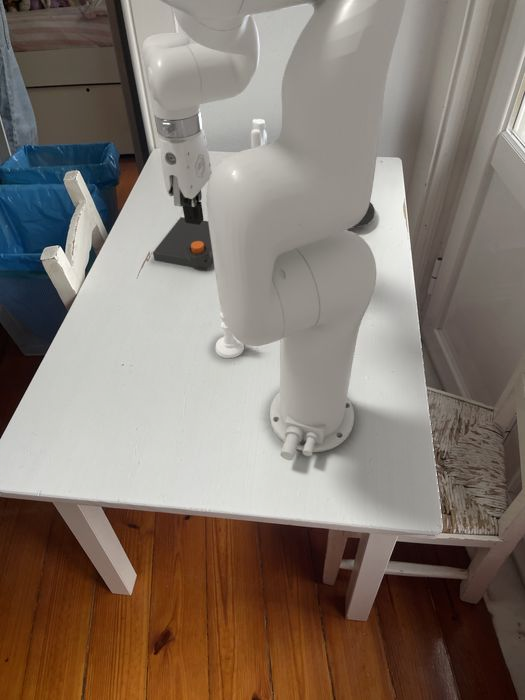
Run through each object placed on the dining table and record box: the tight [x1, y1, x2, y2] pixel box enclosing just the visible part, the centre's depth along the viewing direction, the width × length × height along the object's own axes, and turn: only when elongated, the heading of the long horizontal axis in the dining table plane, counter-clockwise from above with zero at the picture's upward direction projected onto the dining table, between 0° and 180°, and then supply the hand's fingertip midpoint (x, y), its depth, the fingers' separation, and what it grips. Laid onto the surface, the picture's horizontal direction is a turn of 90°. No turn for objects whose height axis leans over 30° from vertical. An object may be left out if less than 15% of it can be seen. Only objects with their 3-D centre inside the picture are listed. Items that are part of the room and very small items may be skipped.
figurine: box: [250, 118, 268, 149], centre depth 118 cm, size 7×9×15 cm
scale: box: [152, 216, 214, 271], centre depth 103 cm, size 15×12×4 cm
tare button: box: [191, 241, 204, 254], centre depth 98 cm, size 3×3×1 cm
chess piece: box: [215, 307, 245, 359], centre depth 80 cm, size 5×5×10 cm
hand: (194, 221), depth 93 cm, fingers closed
